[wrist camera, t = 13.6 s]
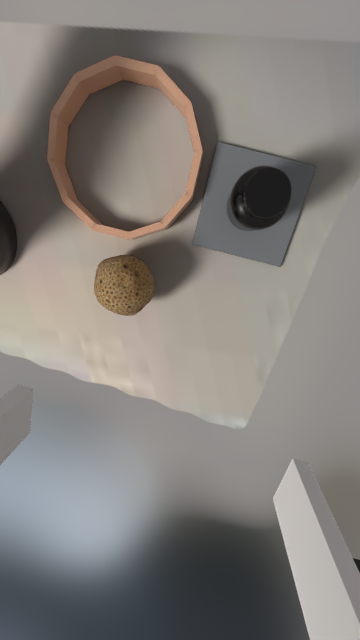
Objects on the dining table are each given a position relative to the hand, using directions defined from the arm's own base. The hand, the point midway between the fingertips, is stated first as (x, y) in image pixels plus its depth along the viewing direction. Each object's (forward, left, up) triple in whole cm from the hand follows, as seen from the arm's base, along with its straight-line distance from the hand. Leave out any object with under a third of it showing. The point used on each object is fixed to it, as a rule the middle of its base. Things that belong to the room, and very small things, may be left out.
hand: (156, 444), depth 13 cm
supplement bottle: (+5, +16, -31) cm, 35 cm away
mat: (+5, +16, -32) cm, 36 cm away
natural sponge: (-10, +1, -32) cm, 33 cm away
